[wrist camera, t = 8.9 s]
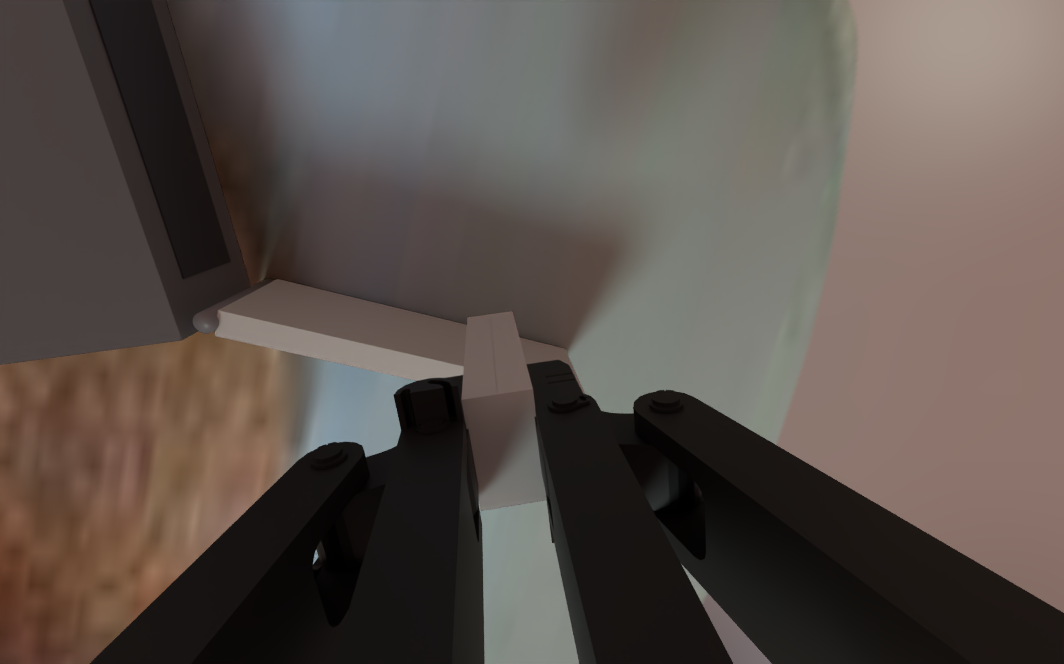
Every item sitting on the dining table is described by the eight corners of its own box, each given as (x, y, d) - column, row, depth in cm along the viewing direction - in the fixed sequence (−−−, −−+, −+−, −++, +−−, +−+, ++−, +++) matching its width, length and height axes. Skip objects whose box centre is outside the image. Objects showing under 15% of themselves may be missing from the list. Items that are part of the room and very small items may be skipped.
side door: (258, 300, 24) (190, 340, 18) (262, 274, 24) (194, 307, 18) (557, 370, 26) (576, 424, 21) (564, 347, 26) (586, 396, 20)
